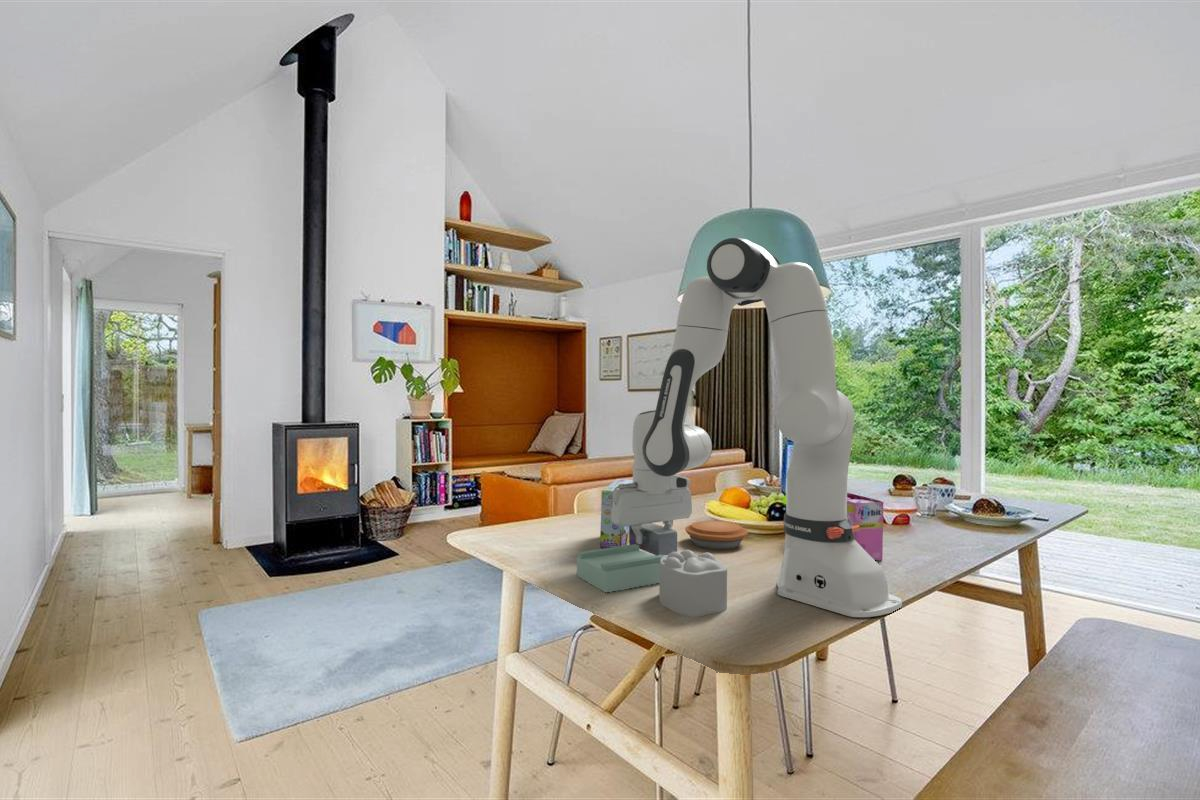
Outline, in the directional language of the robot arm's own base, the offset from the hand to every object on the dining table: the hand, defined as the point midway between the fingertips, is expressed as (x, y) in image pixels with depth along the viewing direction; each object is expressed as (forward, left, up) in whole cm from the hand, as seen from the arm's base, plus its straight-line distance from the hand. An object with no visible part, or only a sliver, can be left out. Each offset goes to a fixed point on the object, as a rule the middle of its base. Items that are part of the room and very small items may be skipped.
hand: (652, 541), depth 136 cm
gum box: (-15, -45, -4) cm, 47 cm away
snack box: (+15, 0, -4) cm, 15 cm away
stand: (-9, +14, -4) cm, 18 cm away
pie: (+4, -22, -4) cm, 22 cm away
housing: (0, 0, -2) cm, 2 cm away
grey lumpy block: (-26, +10, -4) cm, 29 cm away
